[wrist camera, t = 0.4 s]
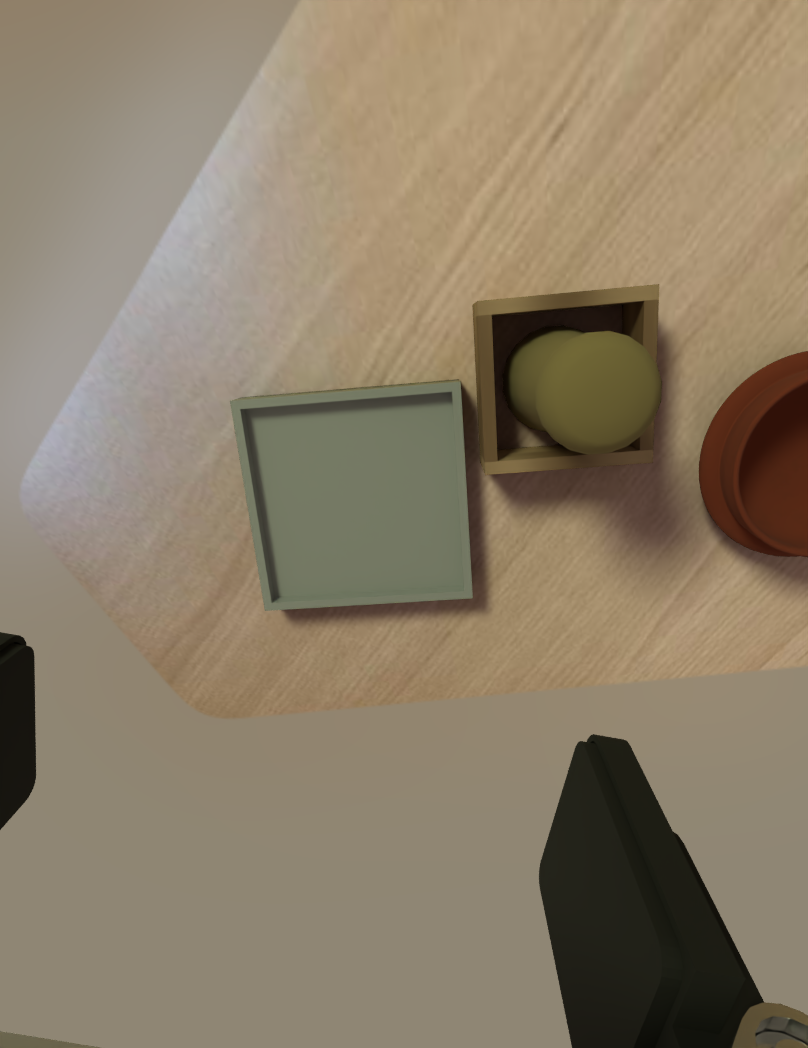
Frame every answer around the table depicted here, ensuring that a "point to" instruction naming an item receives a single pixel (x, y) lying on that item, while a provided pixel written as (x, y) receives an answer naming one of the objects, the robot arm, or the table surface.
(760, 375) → the pottery
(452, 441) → the tray
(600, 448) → the olive pawn
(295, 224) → the table surface
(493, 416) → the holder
